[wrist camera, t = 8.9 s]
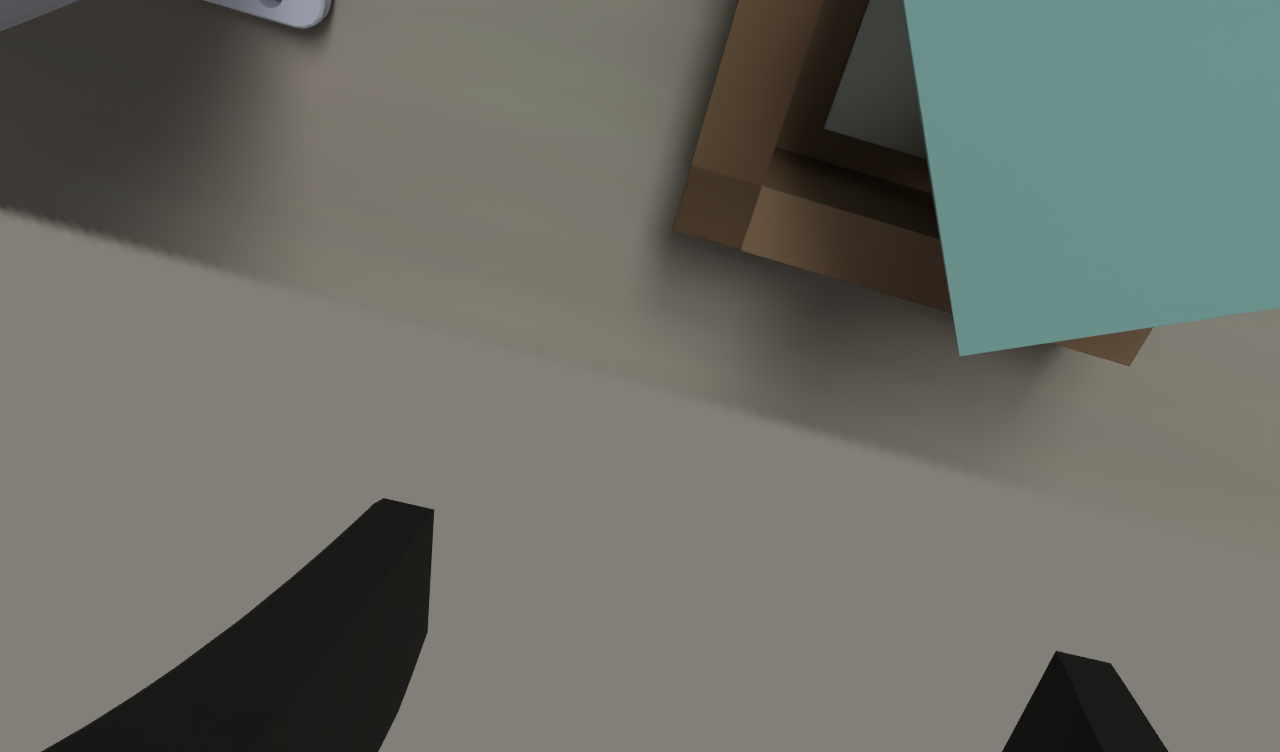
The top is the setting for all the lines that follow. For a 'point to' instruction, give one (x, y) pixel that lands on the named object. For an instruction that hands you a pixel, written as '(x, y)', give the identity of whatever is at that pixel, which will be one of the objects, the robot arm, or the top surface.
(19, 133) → the top surface
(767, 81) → the tray
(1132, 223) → the block
